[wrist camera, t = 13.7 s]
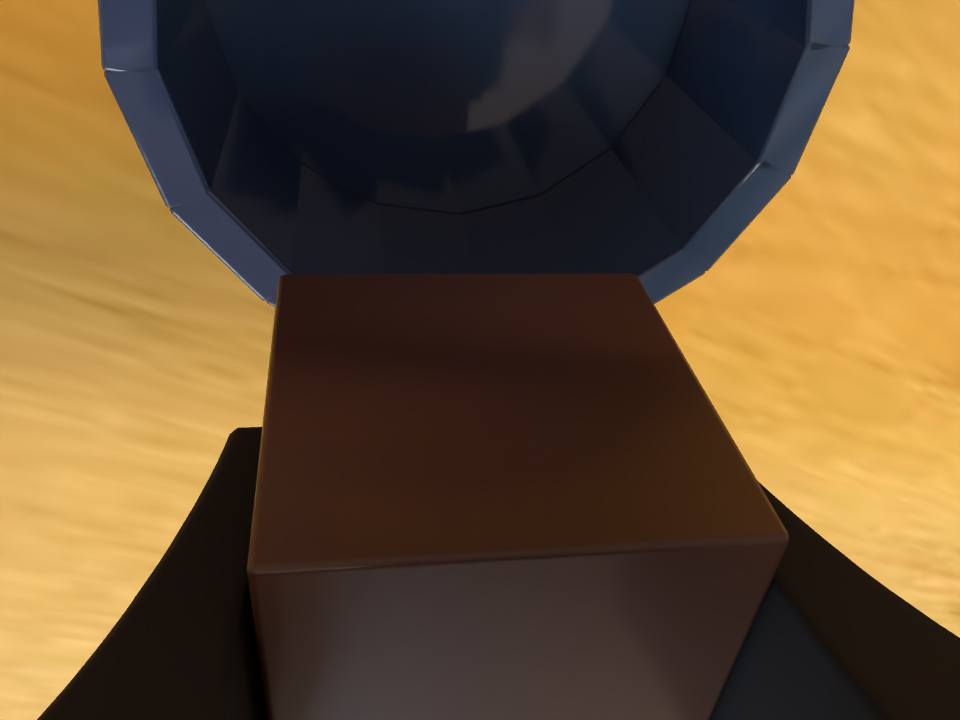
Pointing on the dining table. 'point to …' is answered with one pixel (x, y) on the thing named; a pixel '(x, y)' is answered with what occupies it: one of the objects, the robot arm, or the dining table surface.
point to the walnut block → (496, 506)
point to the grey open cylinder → (471, 128)
